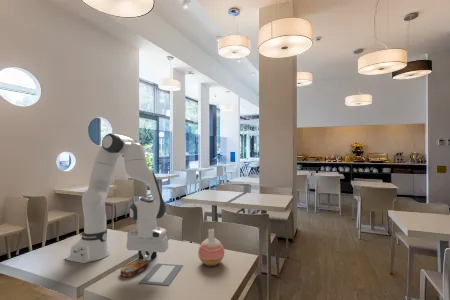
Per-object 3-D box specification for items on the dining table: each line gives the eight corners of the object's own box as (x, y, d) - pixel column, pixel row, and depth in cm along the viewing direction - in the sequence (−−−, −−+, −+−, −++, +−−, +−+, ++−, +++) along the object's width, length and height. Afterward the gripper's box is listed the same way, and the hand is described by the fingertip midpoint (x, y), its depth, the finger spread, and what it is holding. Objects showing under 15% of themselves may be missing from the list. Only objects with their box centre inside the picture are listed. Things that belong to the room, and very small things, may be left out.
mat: (138, 283, 108) (138, 282, 108) (157, 263, 127) (157, 263, 127) (168, 285, 106) (168, 285, 106) (182, 265, 125) (182, 265, 125)
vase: (229, 261, 130) (228, 228, 130) (216, 272, 118) (215, 235, 118) (207, 256, 136) (207, 224, 137) (193, 266, 124) (192, 231, 125)
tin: (129, 273, 112) (116, 268, 115) (129, 280, 112) (116, 275, 115) (152, 260, 125) (140, 256, 129) (151, 266, 125) (139, 262, 129)
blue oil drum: (156, 252, 142) (156, 226, 142) (157, 259, 133) (157, 231, 133) (138, 254, 139) (138, 228, 139) (137, 261, 130) (137, 233, 130)
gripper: (123, 232, 116) (123, 261, 116) (164, 234, 113) (164, 264, 113) (130, 227, 123) (130, 255, 122) (169, 230, 119) (169, 258, 119)
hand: (147, 259), depth 118 cm, fingers closed
